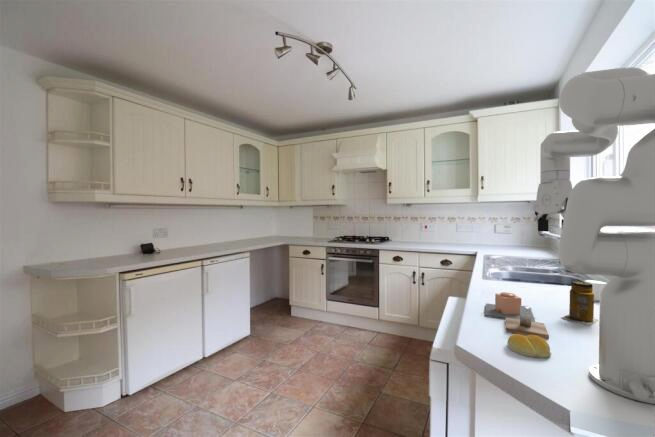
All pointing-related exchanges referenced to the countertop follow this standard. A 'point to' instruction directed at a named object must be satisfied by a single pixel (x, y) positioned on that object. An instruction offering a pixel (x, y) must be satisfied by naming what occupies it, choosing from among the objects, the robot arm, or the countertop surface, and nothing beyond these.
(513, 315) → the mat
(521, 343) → the bread roll
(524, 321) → the post
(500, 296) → the peach rounded block
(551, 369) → the countertop surface
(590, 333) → the countertop surface
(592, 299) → the condiment
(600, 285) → the shot glass
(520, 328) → the post base
